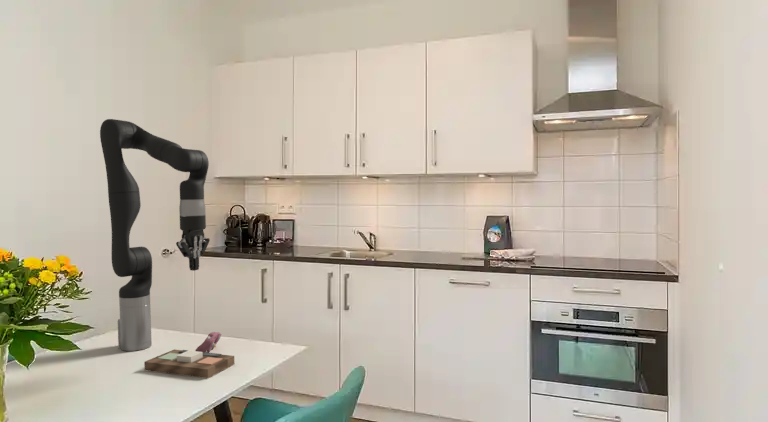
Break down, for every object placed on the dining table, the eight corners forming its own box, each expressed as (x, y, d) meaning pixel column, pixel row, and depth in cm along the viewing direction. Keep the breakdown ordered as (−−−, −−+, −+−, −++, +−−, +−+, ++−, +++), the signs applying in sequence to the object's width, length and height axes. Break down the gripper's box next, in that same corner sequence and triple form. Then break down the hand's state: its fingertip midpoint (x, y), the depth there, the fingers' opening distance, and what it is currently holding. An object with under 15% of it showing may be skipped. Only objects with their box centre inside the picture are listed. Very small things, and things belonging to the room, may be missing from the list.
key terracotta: (197, 370, 146) (196, 362, 146) (208, 365, 151) (208, 356, 151) (211, 372, 144) (211, 364, 144) (222, 366, 149) (222, 358, 149)
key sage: (157, 366, 151) (157, 357, 150) (170, 360, 155) (169, 352, 155) (171, 367, 149) (171, 359, 149) (183, 362, 154) (183, 354, 154)
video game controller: (206, 360, 161) (215, 340, 161) (193, 353, 161) (202, 333, 161) (216, 350, 171) (225, 331, 171) (204, 344, 171) (213, 325, 170)
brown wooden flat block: (144, 370, 148) (144, 360, 148) (174, 357, 159) (174, 348, 159) (208, 378, 141) (207, 367, 140) (234, 364, 152) (234, 354, 152)
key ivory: (176, 363, 148) (176, 355, 148) (188, 358, 153) (188, 350, 153) (191, 365, 147) (190, 357, 146) (202, 359, 151) (202, 351, 151)
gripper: (197, 213, 166) (198, 266, 166) (167, 215, 153) (169, 273, 154) (216, 213, 163) (218, 267, 164) (187, 215, 151) (189, 274, 151)
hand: (194, 270), depth 159 cm, fingers closed
